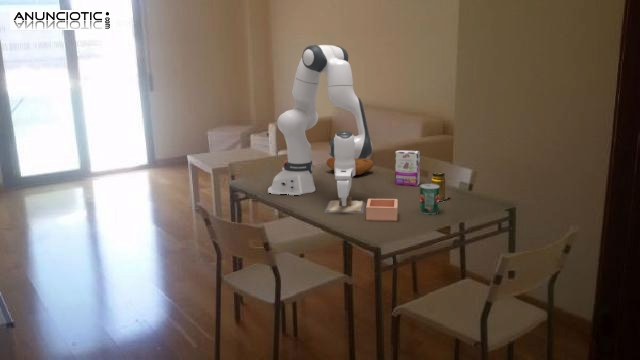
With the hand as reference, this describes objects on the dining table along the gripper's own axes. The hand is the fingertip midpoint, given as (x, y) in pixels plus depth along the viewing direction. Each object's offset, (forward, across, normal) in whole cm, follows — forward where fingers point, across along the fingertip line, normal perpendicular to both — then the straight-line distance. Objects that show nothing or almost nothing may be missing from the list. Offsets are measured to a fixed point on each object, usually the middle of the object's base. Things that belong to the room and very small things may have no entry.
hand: (345, 202), depth 255 cm
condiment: (+3, -17, +40) cm, 44 cm away
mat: (+3, 0, 0) cm, 3 cm away
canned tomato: (+3, +2, +35) cm, 35 cm away
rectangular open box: (+3, +11, +16) cm, 20 cm away
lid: (+2, 0, 0) cm, 2 cm away
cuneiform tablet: (+3, -63, -4) cm, 63 cm away
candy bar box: (+3, -41, +26) cm, 49 cm away
